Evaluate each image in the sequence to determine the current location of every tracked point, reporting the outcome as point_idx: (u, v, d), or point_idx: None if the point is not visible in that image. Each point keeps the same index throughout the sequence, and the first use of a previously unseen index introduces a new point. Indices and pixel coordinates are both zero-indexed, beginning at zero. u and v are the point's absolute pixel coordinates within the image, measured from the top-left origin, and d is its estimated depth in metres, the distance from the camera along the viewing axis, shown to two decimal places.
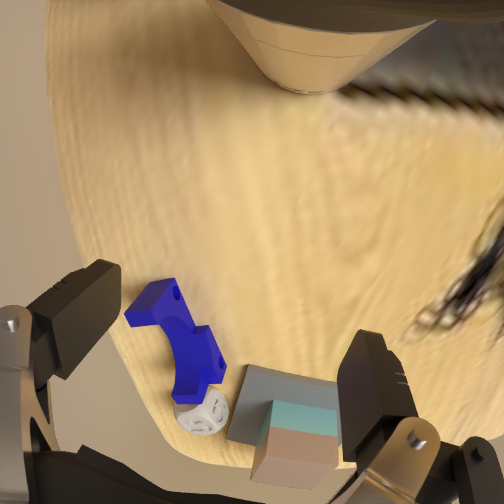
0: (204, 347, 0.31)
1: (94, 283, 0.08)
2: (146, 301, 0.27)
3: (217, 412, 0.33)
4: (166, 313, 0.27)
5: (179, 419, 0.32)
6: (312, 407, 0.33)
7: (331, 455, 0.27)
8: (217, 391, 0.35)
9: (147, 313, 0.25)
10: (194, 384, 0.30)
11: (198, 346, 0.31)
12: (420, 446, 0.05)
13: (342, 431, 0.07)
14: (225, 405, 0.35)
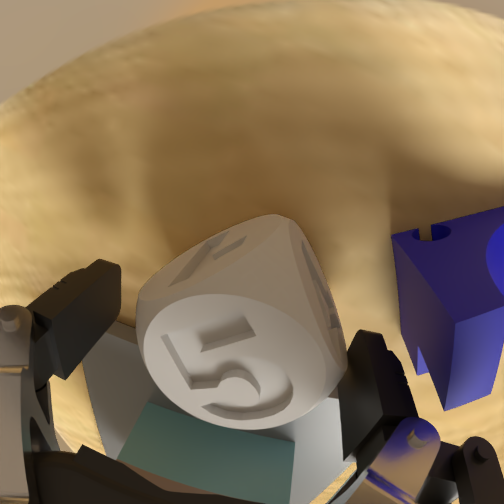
0: None
1: (94, 283, 0.08)
2: None
3: None
4: None
5: (258, 312, 0.07)
6: None
7: None
8: None
9: None
10: None
11: None
12: (420, 446, 0.05)
13: (343, 431, 0.07)
14: None
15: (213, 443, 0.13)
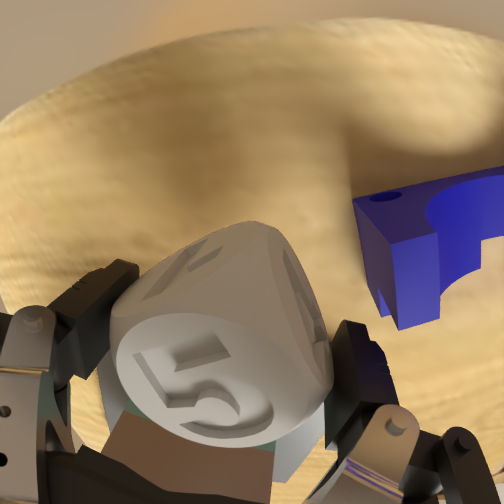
0: (457, 267, 0.12)
1: (115, 283, 0.08)
2: None
3: None
4: None
5: (232, 333, 0.06)
6: None
7: None
8: None
9: None
10: None
11: (459, 253, 0.12)
12: (397, 433, 0.05)
13: (325, 420, 0.08)
14: None
15: None
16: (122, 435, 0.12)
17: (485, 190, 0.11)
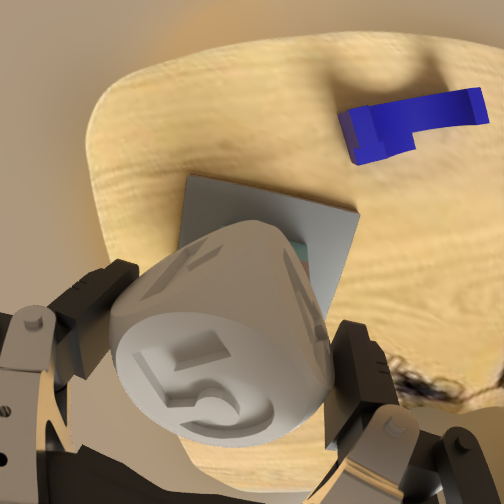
0: (399, 145, 0.23)
1: (115, 283, 0.08)
2: None
3: None
4: None
5: (232, 332, 0.06)
6: None
7: None
8: None
9: (485, 117, 0.17)
10: None
11: (398, 138, 0.23)
12: (397, 433, 0.05)
13: (325, 420, 0.08)
14: None
15: None
16: None
17: (408, 105, 0.22)
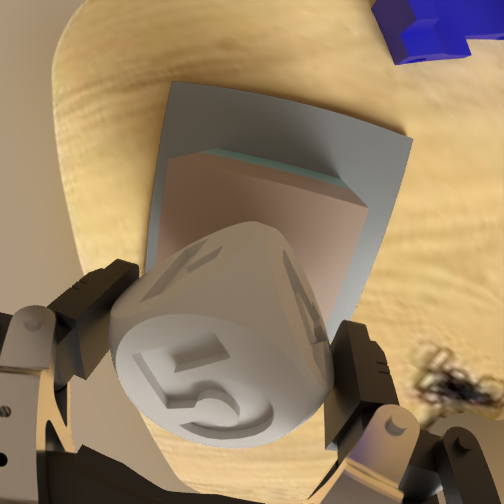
0: (453, 46, 0.13)
1: (115, 283, 0.08)
2: None
3: None
4: None
5: (231, 334, 0.06)
6: None
7: None
8: None
9: None
10: None
11: (450, 37, 0.13)
12: (397, 433, 0.05)
13: (325, 420, 0.08)
14: None
15: (276, 163, 0.18)
16: (200, 156, 0.14)
17: (456, 6, 0.12)
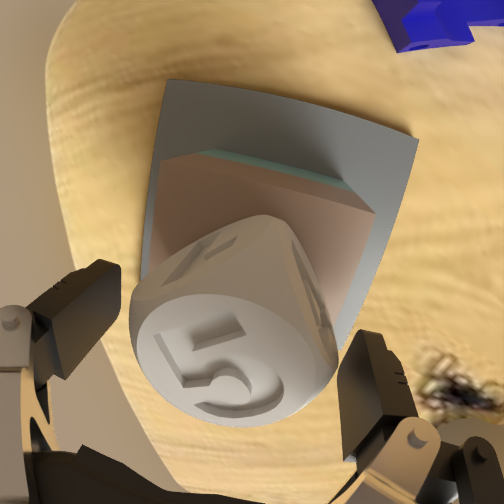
0: (455, 32, 0.12)
1: (94, 283, 0.08)
2: None
3: None
4: None
5: (248, 311, 0.07)
6: None
7: None
8: None
9: None
10: None
11: (453, 23, 0.12)
12: (420, 446, 0.05)
13: (342, 431, 0.07)
14: None
15: (276, 164, 0.17)
16: (195, 157, 0.13)
17: None
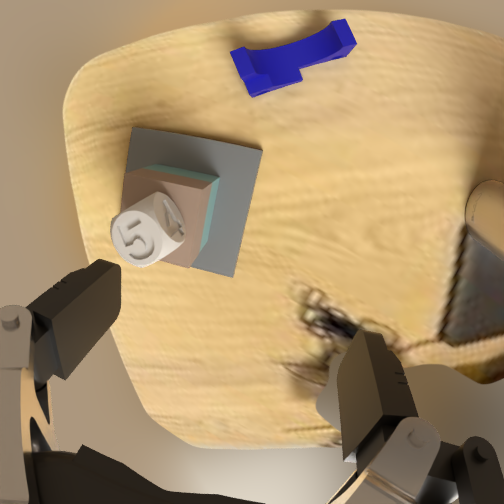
0: (286, 77, 0.29)
1: (94, 283, 0.08)
2: None
3: None
4: (339, 51, 0.26)
5: (141, 215, 0.23)
6: (212, 217, 0.37)
7: (193, 256, 0.31)
8: None
9: (352, 40, 0.23)
10: (256, 69, 0.27)
11: (285, 72, 0.29)
12: (420, 446, 0.05)
13: (342, 431, 0.07)
14: None
15: (183, 171, 0.34)
16: (140, 170, 0.30)
17: (293, 47, 0.28)
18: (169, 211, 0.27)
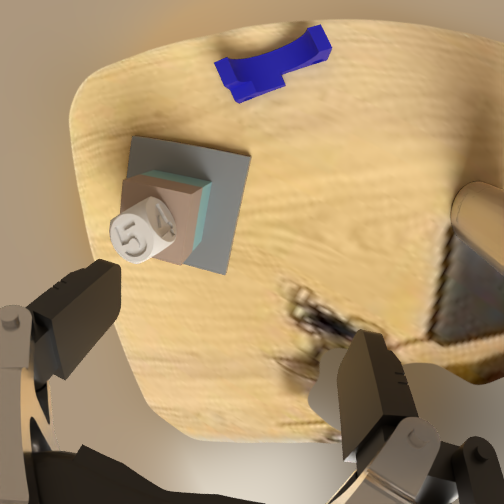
0: (269, 83, 0.32)
1: (94, 283, 0.08)
2: None
3: None
4: (316, 56, 0.28)
5: (135, 217, 0.27)
6: (205, 218, 0.40)
7: (185, 254, 0.34)
8: None
9: (327, 44, 0.26)
10: (239, 77, 0.29)
11: (268, 78, 0.32)
12: (420, 446, 0.05)
13: (342, 431, 0.07)
14: None
15: (178, 176, 0.37)
16: (138, 177, 0.33)
17: (275, 54, 0.31)
18: (161, 214, 0.30)
